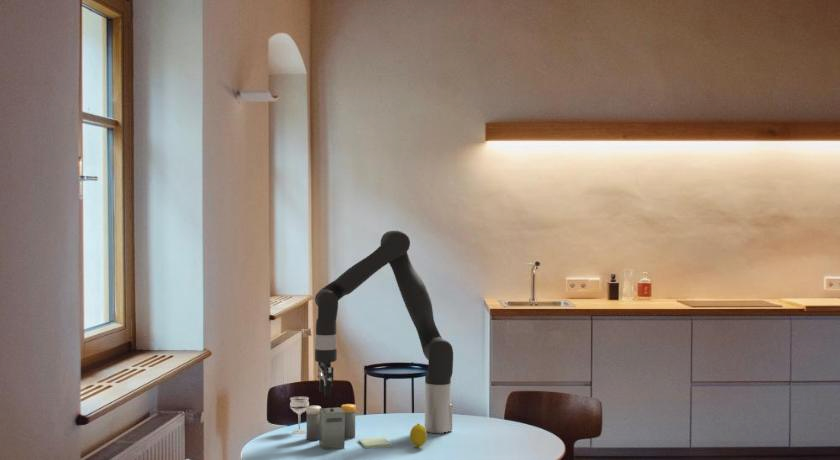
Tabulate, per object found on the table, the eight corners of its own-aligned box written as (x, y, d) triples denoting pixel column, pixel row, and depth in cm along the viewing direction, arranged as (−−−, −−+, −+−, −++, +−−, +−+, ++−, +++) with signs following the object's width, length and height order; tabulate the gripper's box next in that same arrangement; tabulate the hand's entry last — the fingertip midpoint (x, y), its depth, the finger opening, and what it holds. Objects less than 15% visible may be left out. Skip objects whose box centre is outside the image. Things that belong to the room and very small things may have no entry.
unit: (339, 442, 265) (339, 405, 265) (344, 448, 257) (345, 410, 257) (319, 444, 262) (319, 406, 262) (323, 450, 255) (324, 411, 255)
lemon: (424, 450, 256) (425, 426, 256) (408, 449, 257) (408, 425, 257) (428, 446, 261) (428, 422, 261) (411, 445, 262) (412, 421, 262)
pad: (383, 439, 269) (383, 437, 269) (391, 446, 261) (391, 443, 261) (358, 441, 266) (358, 439, 266) (365, 448, 258) (365, 445, 258)
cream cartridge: (319, 436, 272) (319, 405, 272) (322, 440, 267) (322, 408, 267) (304, 437, 270) (305, 406, 271) (307, 441, 266) (307, 409, 266)
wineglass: (312, 432, 279) (313, 398, 279) (297, 435, 274) (298, 401, 274) (300, 428, 283) (300, 395, 283) (285, 432, 278) (286, 398, 278)
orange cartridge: (353, 435, 275) (353, 403, 275) (356, 438, 270) (357, 406, 270) (339, 436, 273) (339, 404, 274) (342, 439, 269) (343, 407, 269)
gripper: (341, 349, 265) (340, 397, 265) (332, 344, 278) (331, 390, 278) (319, 350, 263) (318, 399, 262) (311, 345, 276) (310, 391, 276)
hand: (325, 394), depth 270 cm, fingers open, 8 cm apart
